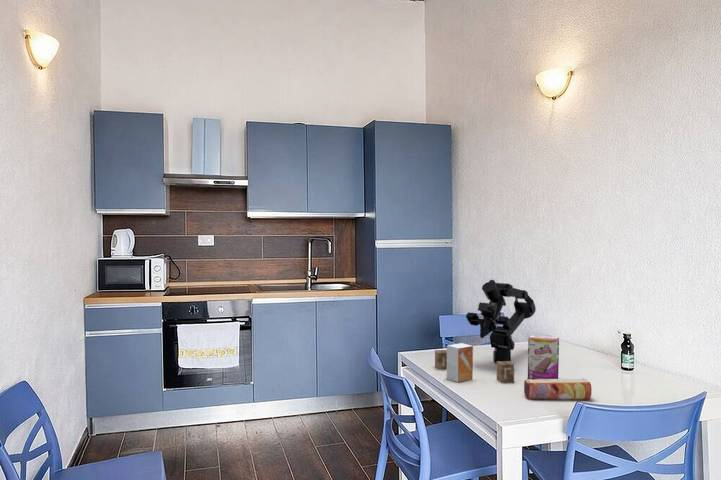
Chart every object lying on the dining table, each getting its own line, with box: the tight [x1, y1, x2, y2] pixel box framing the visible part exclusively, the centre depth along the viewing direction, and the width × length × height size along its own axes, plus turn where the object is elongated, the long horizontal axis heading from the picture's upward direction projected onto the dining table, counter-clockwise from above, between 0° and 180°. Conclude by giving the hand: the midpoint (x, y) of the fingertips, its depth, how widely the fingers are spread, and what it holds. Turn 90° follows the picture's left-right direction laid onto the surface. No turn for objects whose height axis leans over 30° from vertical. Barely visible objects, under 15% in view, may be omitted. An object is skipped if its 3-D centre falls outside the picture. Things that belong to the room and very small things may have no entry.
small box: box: [446, 342, 474, 383], centre depth 203 cm, size 8×6×13 cm
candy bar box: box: [527, 334, 560, 380], centre depth 203 cm, size 11×5×16 cm, turn 71°
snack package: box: [523, 378, 593, 401], centre depth 181 cm, size 21×7×7 cm, turn 87°
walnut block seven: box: [496, 361, 515, 384], centre depth 201 cm, size 5×5×7 cm
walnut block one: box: [434, 349, 447, 371], centre depth 220 cm, size 5×5×7 cm
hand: (481, 337), depth 215 cm, fingers closed
